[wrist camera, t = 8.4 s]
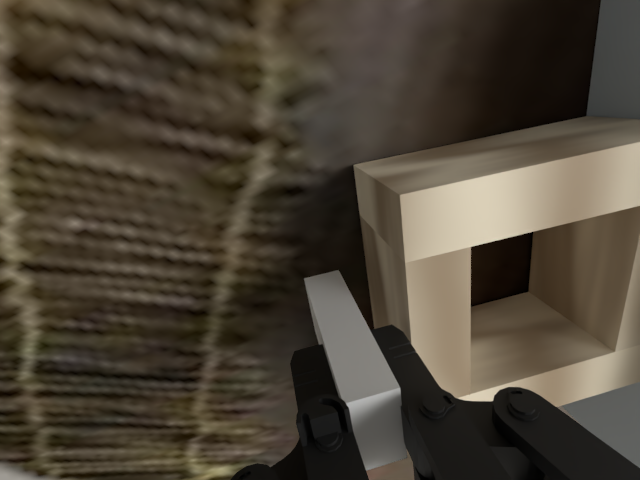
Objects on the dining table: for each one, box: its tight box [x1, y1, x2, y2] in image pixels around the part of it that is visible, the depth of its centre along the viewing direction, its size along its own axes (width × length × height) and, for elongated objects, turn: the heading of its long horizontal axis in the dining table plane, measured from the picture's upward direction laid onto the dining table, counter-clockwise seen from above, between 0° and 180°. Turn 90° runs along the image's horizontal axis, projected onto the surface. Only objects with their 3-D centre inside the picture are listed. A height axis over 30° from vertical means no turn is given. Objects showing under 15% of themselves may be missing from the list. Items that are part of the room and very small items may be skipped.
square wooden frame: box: [353, 116, 640, 407], centre depth 15 cm, size 11×11×5 cm
